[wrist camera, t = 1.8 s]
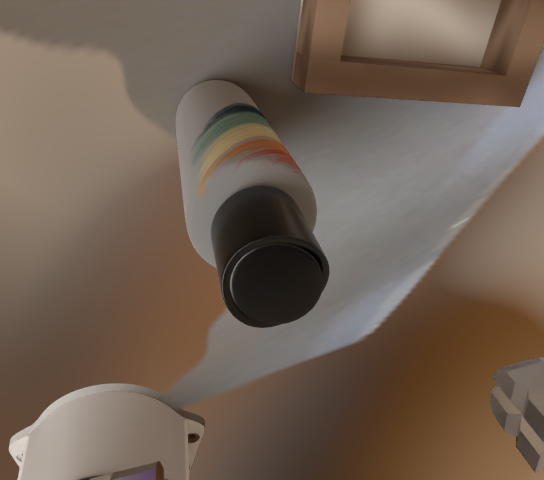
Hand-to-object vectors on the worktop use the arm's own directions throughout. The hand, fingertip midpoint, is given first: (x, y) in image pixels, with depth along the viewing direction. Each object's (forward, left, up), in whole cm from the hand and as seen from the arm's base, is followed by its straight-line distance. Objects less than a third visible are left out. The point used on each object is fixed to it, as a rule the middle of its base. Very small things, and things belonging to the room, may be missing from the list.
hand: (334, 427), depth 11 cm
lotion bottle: (0, 0, -26) cm, 26 cm away
